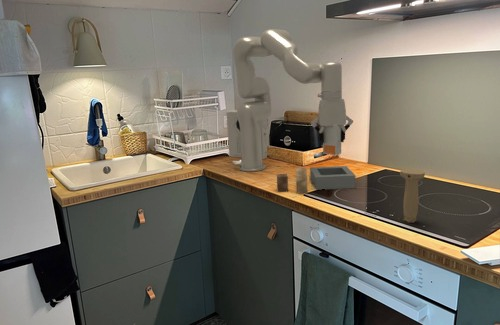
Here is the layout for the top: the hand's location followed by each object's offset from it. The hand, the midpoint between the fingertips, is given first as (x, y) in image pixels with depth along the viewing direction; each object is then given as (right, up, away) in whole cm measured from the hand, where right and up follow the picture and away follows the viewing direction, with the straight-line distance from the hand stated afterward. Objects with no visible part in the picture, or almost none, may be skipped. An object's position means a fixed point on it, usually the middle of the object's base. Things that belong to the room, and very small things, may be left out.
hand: (332, 141), depth 147 cm
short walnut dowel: (-19, -19, -1) cm, 27 cm away
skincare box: (0, -5, +1) cm, 5 cm away
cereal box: (-32, -5, +60) cm, 69 cm away
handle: (+15, -25, -36) cm, 47 cm away
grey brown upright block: (-12, -19, -5) cm, 23 cm away
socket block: (+1, -16, +4) cm, 17 cm away
